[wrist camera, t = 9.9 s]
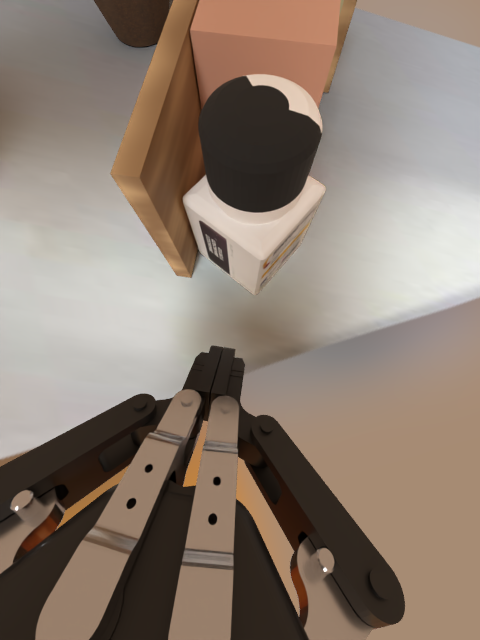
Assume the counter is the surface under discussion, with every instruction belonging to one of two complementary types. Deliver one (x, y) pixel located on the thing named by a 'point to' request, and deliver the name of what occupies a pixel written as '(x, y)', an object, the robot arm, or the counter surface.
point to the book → (264, 41)
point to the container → (255, 176)
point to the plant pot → (135, 19)
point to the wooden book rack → (174, 137)
